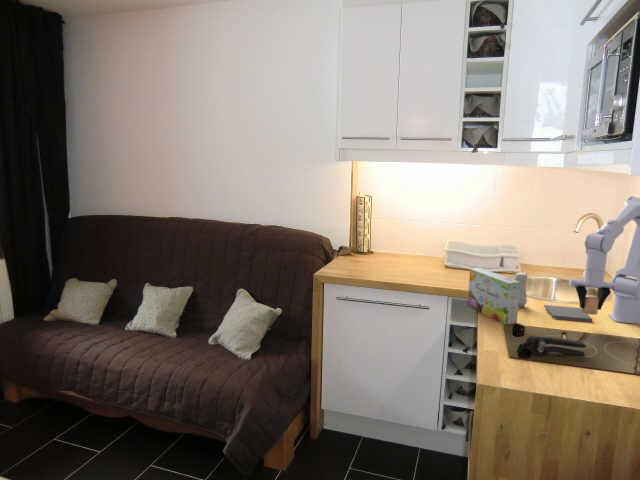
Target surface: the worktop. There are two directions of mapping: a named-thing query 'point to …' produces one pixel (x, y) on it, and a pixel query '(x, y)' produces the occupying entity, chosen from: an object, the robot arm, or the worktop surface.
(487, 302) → the snack box
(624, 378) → the worktop surface
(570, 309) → the plate
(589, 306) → the toy block
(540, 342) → the can opener
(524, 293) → the salt shaker
